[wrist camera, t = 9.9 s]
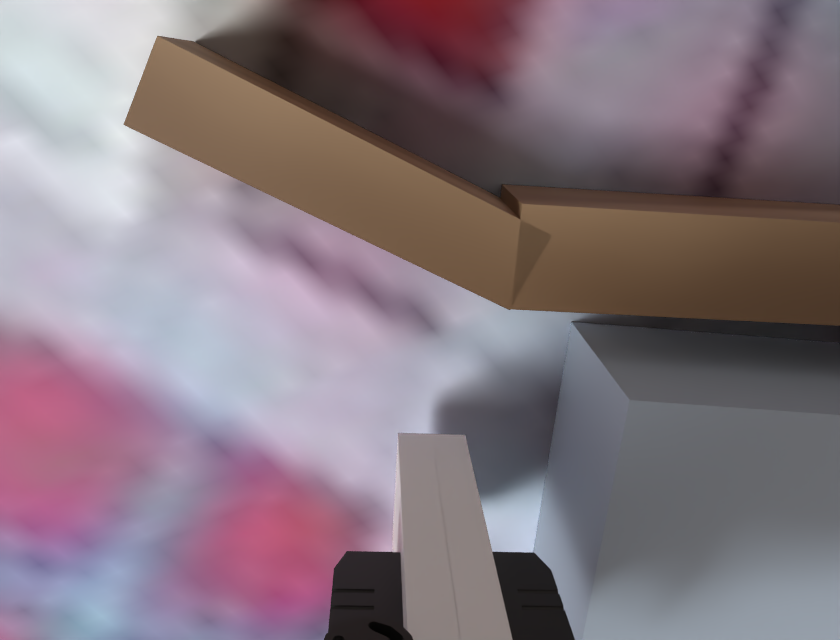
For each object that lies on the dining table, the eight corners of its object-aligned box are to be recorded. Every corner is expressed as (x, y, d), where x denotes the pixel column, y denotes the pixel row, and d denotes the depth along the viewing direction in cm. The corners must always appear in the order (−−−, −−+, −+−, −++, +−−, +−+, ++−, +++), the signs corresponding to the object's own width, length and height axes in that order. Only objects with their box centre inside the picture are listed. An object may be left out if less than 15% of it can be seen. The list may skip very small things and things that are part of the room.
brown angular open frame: (161, 39, 15) (108, 31, 12) (1049, 102, 16) (1193, 108, 13) (187, 773, 21) (156, 884, 18) (839, 779, 22) (908, 885, 19)
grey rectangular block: (569, 319, 17) (629, 399, 13) (859, 342, 18) (1008, 427, 14) (521, 608, 20) (559, 755, 16) (777, 620, 20) (881, 766, 16)
